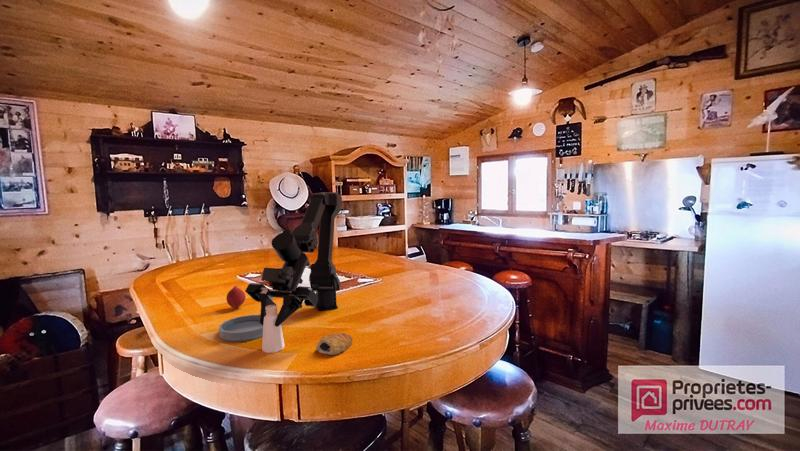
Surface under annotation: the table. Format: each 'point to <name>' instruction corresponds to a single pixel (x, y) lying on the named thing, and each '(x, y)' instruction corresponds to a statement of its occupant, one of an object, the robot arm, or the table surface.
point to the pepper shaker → (272, 331)
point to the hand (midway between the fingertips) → (268, 325)
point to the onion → (235, 297)
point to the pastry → (334, 344)
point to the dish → (241, 329)
